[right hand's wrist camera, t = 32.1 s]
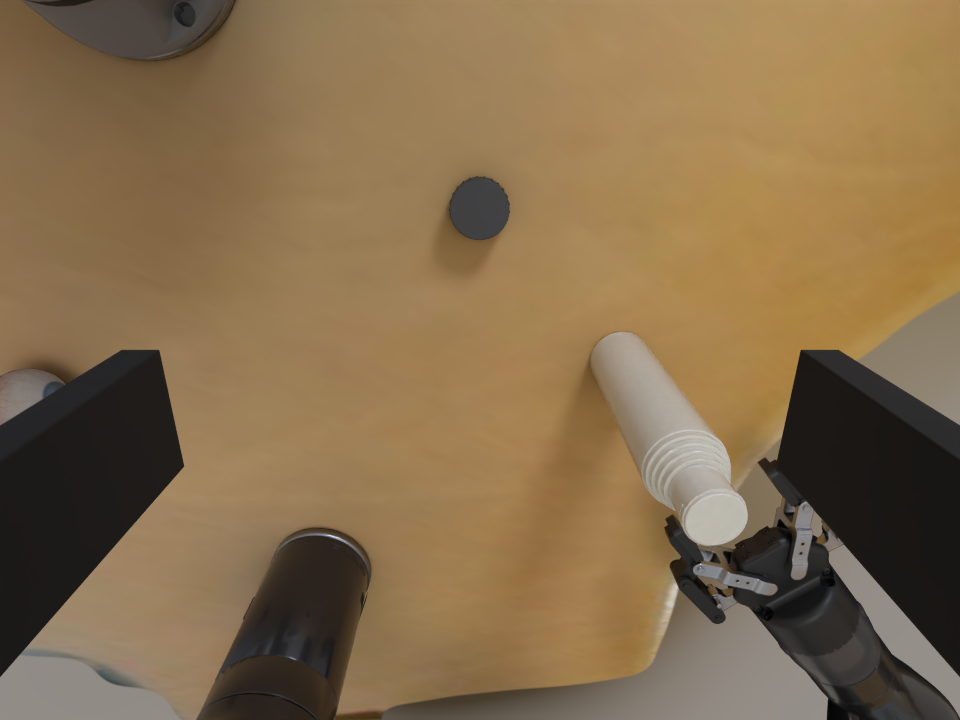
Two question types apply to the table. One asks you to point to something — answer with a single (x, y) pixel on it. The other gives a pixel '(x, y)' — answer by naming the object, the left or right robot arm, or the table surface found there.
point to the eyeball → (25, 390)
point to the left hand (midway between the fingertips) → (718, 494)
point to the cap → (479, 208)
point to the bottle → (669, 440)
